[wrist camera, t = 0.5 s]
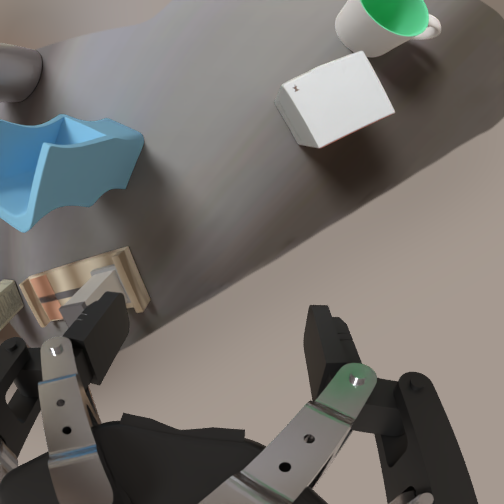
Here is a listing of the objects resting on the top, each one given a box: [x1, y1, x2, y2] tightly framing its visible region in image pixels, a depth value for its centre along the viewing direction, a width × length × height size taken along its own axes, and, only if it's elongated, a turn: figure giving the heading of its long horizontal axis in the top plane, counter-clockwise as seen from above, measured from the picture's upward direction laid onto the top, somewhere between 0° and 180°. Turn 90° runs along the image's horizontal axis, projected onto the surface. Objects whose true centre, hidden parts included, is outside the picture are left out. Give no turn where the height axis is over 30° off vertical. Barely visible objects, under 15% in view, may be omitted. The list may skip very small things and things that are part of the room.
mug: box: [335, 0, 441, 57], centre depth 23 cm, size 12×8×10 cm
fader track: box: [19, 246, 151, 327], centre depth 42 cm, size 24×9×4 cm, turn 104°
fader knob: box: [59, 264, 131, 327], centre depth 36 cm, size 5×6×11 cm
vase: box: [0, 114, 144, 232], centre depth 26 cm, size 8×8×20 cm
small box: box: [274, 51, 395, 149], centre depth 27 cm, size 8×6×13 cm
